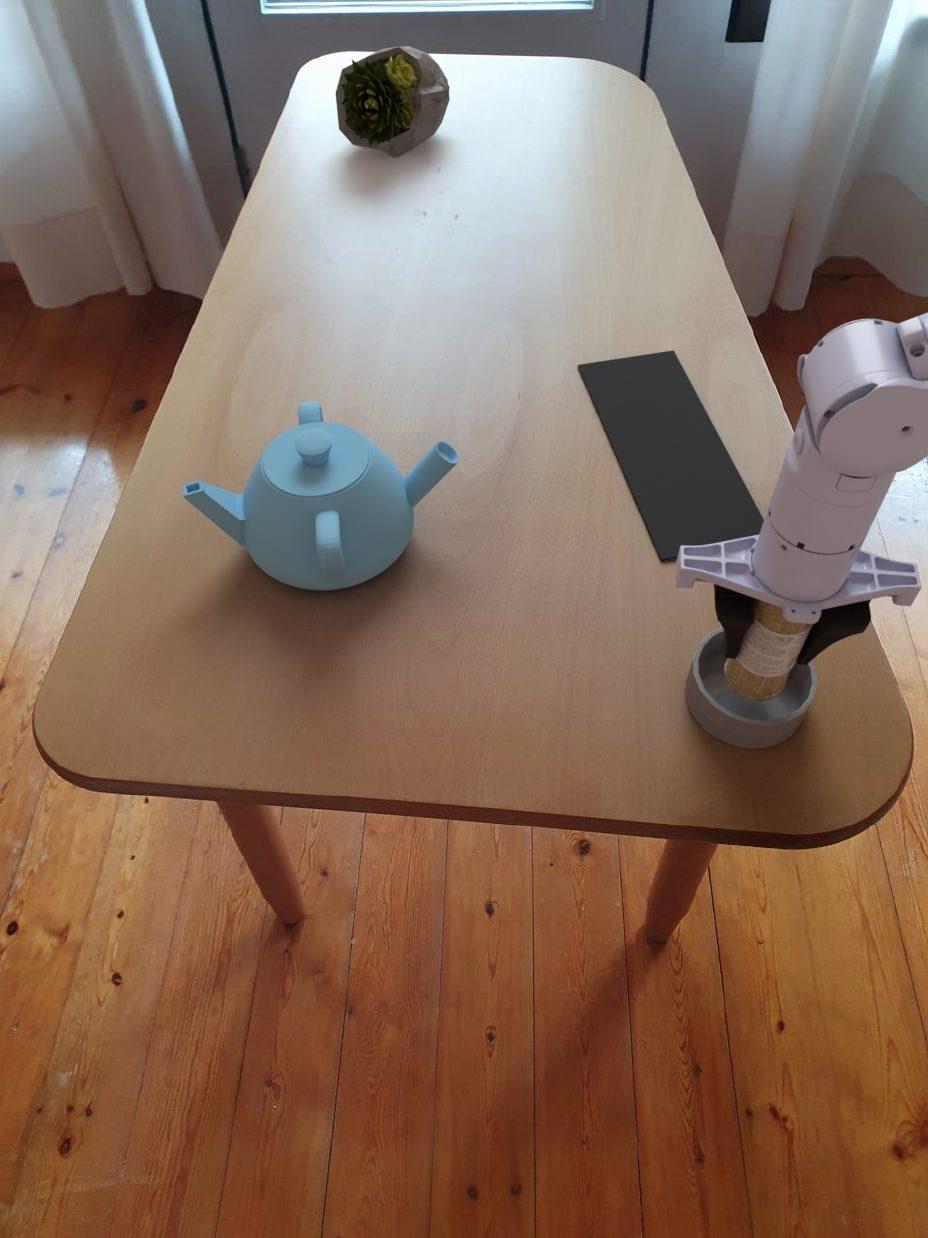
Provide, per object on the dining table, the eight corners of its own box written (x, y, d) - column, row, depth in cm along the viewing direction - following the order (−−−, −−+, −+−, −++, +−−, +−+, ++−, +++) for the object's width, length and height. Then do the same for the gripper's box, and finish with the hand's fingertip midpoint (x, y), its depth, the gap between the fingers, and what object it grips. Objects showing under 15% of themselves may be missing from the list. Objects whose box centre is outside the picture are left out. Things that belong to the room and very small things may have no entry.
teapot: (373, 641, 75) (357, 548, 66) (201, 563, 80) (165, 467, 71) (467, 515, 83) (464, 416, 74) (305, 451, 88) (283, 352, 79)
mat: (773, 542, 80) (774, 539, 80) (661, 561, 79) (661, 559, 79) (673, 352, 95) (673, 350, 95) (577, 366, 94) (577, 364, 94)
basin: (799, 654, 73) (811, 628, 70) (809, 754, 68) (823, 730, 65) (684, 644, 74) (692, 617, 71) (686, 742, 69) (694, 718, 66)
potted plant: (473, 104, 120) (435, 126, 109) (400, 165, 127) (358, 191, 116) (416, 13, 116) (371, 26, 105) (345, 82, 123) (295, 100, 112)
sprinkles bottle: (750, 642, 71) (796, 520, 60) (798, 681, 69) (855, 562, 58) (708, 675, 69) (748, 556, 58) (757, 716, 67) (808, 600, 56)
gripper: (693, 560, 53) (659, 688, 64) (960, 580, 52) (879, 708, 63) (691, 471, 58) (659, 606, 68) (938, 488, 56) (865, 623, 67)
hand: (764, 649), depth 66 cm, fingers closed on sprinkles bottle, 4 cm apart
